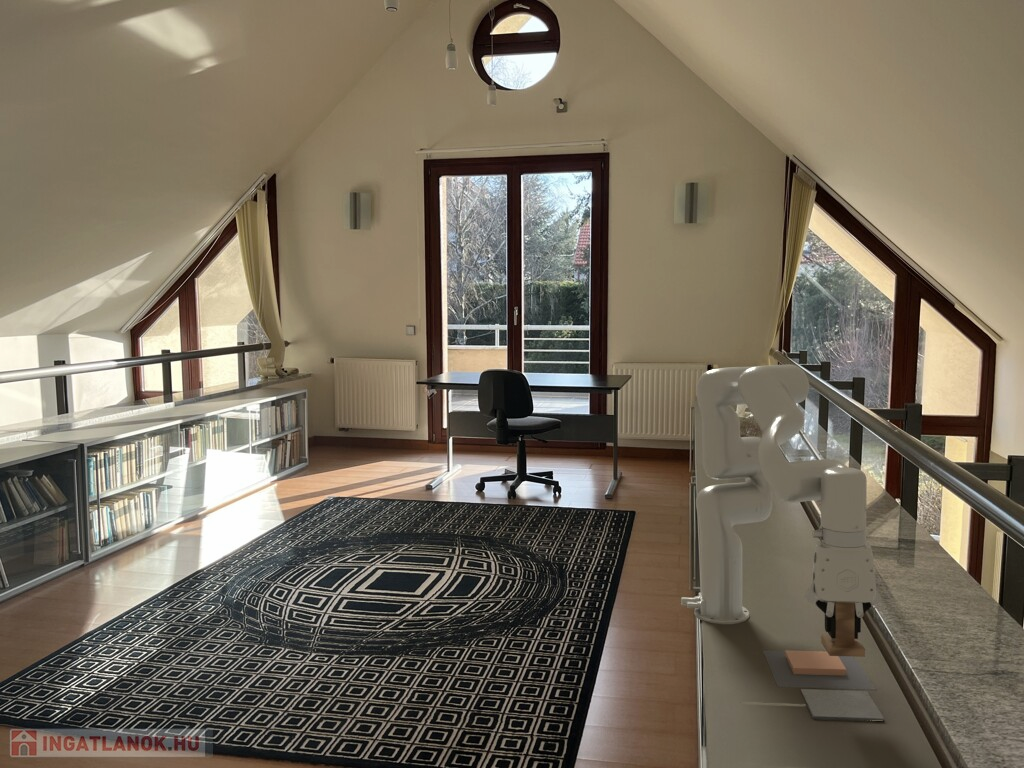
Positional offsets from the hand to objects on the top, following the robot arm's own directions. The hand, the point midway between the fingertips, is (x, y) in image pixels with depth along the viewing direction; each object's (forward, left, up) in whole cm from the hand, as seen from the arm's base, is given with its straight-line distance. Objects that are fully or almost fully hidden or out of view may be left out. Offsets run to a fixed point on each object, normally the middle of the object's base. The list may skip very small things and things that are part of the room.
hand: (842, 634), depth 146 cm
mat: (-1, +14, -14) cm, 20 cm away
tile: (-1, +20, -13) cm, 23 cm away
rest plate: (0, 0, -14) cm, 14 cm away
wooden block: (0, 0, -3) cm, 3 cm away
